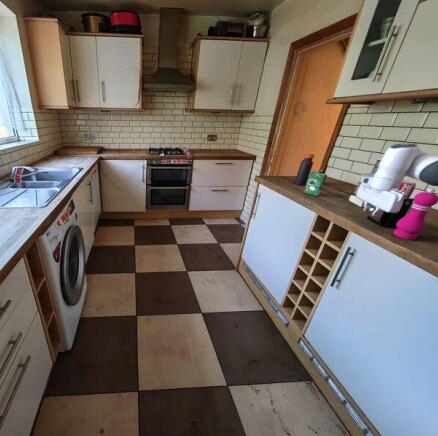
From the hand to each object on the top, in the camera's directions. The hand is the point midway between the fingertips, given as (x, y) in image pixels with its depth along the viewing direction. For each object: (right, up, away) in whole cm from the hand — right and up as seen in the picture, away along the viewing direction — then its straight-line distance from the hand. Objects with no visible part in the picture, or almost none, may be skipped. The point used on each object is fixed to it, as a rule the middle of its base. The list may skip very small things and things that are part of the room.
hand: (369, 213), depth 101 cm
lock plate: (+21, +6, +22) cm, 31 cm away
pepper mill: (+4, -9, -10) cm, 14 cm away
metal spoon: (+6, +2, -2) cm, 6 cm away
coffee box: (-1, +12, +35) cm, 37 cm away
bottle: (+5, +21, +54) cm, 58 cm away
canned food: (+33, +12, +37) cm, 51 cm away
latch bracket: (+9, -4, 0) cm, 10 cm away
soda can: (+36, +5, +23) cm, 43 cm away
